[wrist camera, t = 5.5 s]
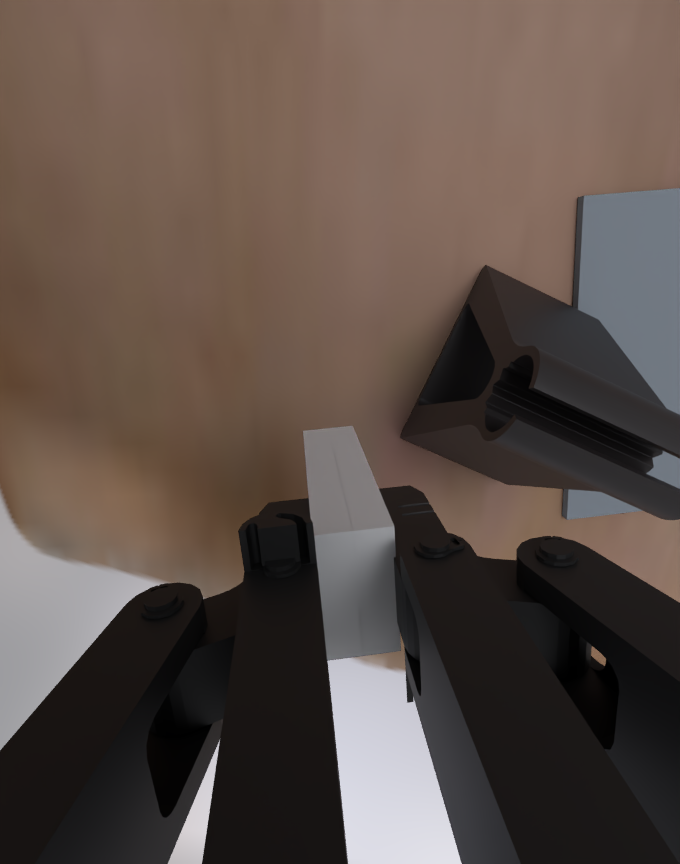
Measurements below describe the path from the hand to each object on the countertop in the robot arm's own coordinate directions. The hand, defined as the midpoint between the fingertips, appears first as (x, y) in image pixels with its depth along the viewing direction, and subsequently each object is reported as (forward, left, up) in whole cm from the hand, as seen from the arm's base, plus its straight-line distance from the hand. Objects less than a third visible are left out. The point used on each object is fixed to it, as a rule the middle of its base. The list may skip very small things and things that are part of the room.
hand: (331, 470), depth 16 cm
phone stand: (+9, 0, -10) cm, 13 cm away
